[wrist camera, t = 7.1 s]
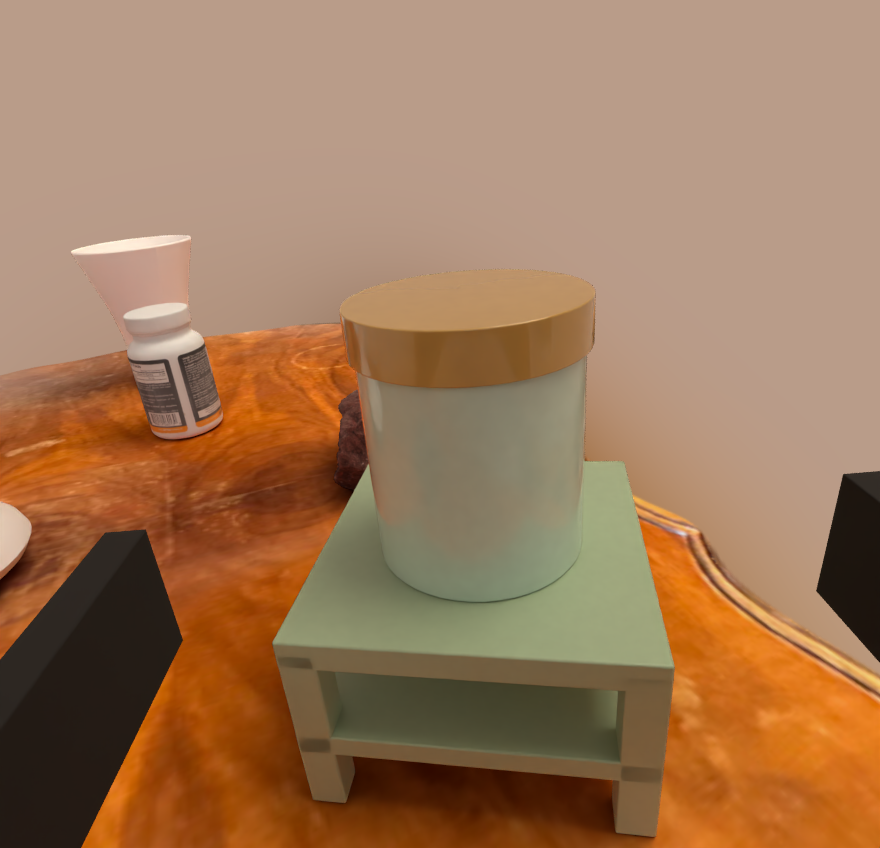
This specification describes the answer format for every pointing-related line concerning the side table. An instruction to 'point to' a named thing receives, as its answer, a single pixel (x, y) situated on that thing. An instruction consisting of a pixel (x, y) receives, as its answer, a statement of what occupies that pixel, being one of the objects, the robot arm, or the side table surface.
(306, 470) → the side table surface
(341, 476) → the rock
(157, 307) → the pill bottle
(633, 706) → the shelf
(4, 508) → the flower in vase
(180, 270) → the cup
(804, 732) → the side table surface
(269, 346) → the side table surface
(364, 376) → the jar
